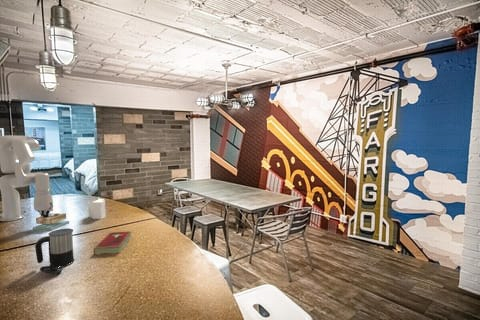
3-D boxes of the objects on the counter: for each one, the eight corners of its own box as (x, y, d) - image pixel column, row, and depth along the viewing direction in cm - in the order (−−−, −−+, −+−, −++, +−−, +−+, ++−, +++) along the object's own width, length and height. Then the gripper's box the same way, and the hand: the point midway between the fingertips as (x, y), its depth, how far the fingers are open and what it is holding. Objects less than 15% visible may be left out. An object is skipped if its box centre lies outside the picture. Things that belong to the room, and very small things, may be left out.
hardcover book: (93, 255, 123) (93, 247, 122) (110, 239, 143) (109, 231, 143) (119, 254, 124) (119, 246, 124) (132, 237, 145) (131, 230, 145)
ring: (36, 223, 158) (35, 218, 158) (51, 218, 169) (50, 213, 169) (52, 224, 157) (51, 218, 157) (66, 218, 168) (65, 213, 168)
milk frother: (71, 256, 121) (69, 226, 120) (83, 267, 111) (81, 234, 110) (33, 268, 110) (31, 235, 109) (43, 281, 100) (40, 244, 99)
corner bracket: (101, 218, 179) (100, 202, 178) (85, 218, 179) (85, 202, 178) (109, 214, 190) (108, 198, 189) (94, 214, 190) (94, 198, 189)
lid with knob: (32, 229, 157) (31, 218, 157) (51, 222, 171) (51, 211, 170) (51, 230, 156) (50, 218, 155) (69, 223, 170) (68, 212, 169)
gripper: (26, 193, 159) (28, 221, 161) (48, 193, 158) (50, 222, 159) (37, 191, 167) (39, 218, 168) (58, 191, 165) (60, 218, 166)
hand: (45, 220), depth 163 cm, fingers closed on ring
